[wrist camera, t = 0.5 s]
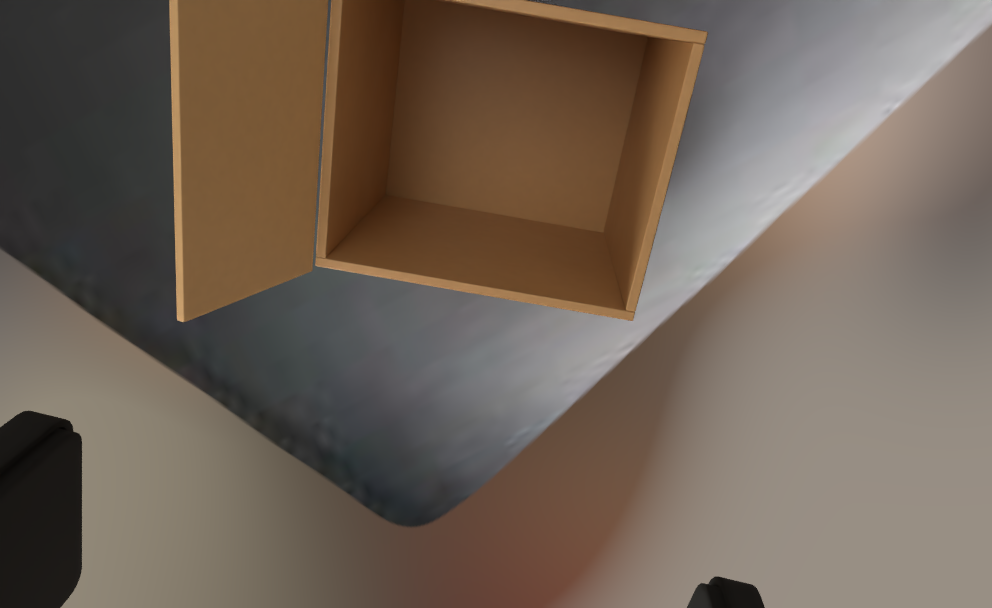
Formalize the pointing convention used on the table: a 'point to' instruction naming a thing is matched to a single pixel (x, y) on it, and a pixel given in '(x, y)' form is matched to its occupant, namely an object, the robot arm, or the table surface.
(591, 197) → the carton
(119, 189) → the table surface
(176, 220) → the flap
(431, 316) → the table surface
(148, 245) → the table surface
